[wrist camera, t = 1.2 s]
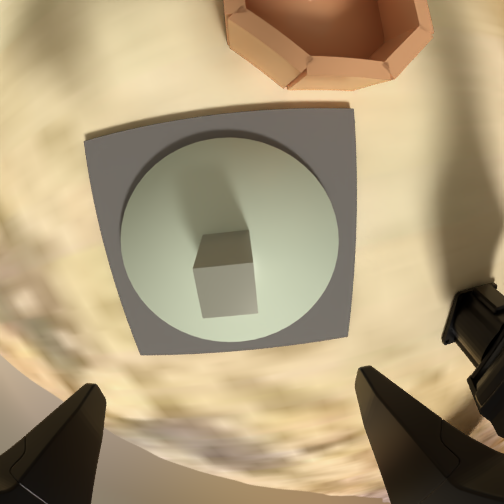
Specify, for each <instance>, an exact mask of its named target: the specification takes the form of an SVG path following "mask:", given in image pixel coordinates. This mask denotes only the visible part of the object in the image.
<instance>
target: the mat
mask: <svg viewBox="0 0 504 504" xmlns="http://www.w3.org/2000/svg"><path fill="white" fill-rule="evenodd" d="M230 137H232V138H243V139H250V140H254V141H258V142H263V143H265V144H268V145H270V146H273V147H275V148H278V149H280V150H282V151H284V152H285V153H287V154H289V155H291V156H292V157H294V158H295V159H296V160H298V161H299V162H300V163H301V164H303V165H304V166H305V167H306V168H307V169H308V170H309V171H310V172H311V173H312V174H313V175H314V176H315V177H316V179H317V180H318V181H319V183H320V184H321V186H322V187H323V188H324V190H325V192H326V194H327V196H328V198H329V200H330V201H331V204H332V207H333V210H334V213H335V216H336V221H337V226H338V236H339V246H338V256H337V260H336V265H335V269H334V271H333V274H332V277H331V279H330V282H329V283H328V285H327V287H326V289H325V291H324V292H323V294H322V295H321V297H320V298H319V299H318V301H317V302H316V303H315V304H314V305H313V307H312V308H311V309H310V310H309V311H308V312H307V313H306V314H304V315H303V316H302V317H301V318H300V319H298V320H297V321H296V322H294V323H293V324H291V325H290V326H288V327H286V328H284V329H282V330H280V331H278V332H276V333H273V334H271V335H268V336H266V337H262V338H258V339H254V340H248V341H241V342H221V341H212V340H207V339H202V338H199V337H195V336H192V335H189V334H187V333H184V332H182V331H180V330H178V329H176V328H174V327H173V326H171V325H169V324H168V323H166V322H165V321H163V320H162V319H161V318H159V317H158V316H157V315H156V314H155V313H154V312H152V311H151V310H150V309H149V308H148V307H147V305H146V304H145V303H144V302H143V301H142V300H141V298H140V297H139V295H138V294H137V292H136V291H135V289H134V288H133V286H132V284H131V282H130V280H129V278H128V275H127V272H126V269H125V266H124V263H123V258H122V252H121V226H122V221H123V216H124V212H125V209H126V207H127V204H128V201H129V199H130V197H131V195H132V193H133V191H134V190H135V188H136V186H137V185H138V183H139V182H140V181H141V179H142V178H143V177H144V176H145V174H146V173H147V172H148V171H149V170H150V169H151V168H152V167H153V166H154V165H155V164H157V163H158V162H159V161H161V160H162V159H163V158H165V157H166V156H168V155H169V154H171V153H173V152H175V151H176V150H178V149H180V148H182V147H185V146H187V145H190V144H193V143H196V142H199V141H204V140H209V139H214V138H230ZM84 146H85V153H86V160H87V166H88V172H89V178H90V184H91V189H92V194H93V199H94V204H95V209H96V213H97V218H98V222H99V226H100V231H101V235H102V239H103V243H104V246H105V250H106V254H107V258H108V261H109V265H110V268H111V272H112V275H113V278H114V282H115V285H116V288H117V291H118V294H119V297H120V300H121V303H122V306H123V309H124V312H125V315H126V318H127V321H128V323H129V326H130V329H131V332H132V334H133V337H134V340H135V342H136V345H137V347H138V350H139V352H140V355H178V354H200V353H216V352H230V351H242V350H253V349H263V348H272V347H281V346H289V345H296V344H304V343H311V342H318V341H324V340H331V339H337V338H343V337H348V330H349V322H350V312H351V302H352V291H353V278H354V264H355V245H356V215H357V167H356V138H355V120H354V109H347V108H298V109H274V110H259V111H246V112H235V113H226V114H217V115H209V116H202V117H195V118H188V119H182V120H176V121H170V122H164V123H159V124H154V125H149V126H144V127H139V128H134V129H130V130H126V131H121V132H117V133H113V134H109V135H105V136H101V137H98V138H94V139H90V140H87V141H84Z"/></svg>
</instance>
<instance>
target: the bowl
mask: <svg viewBox="0 0 504 504" xmlns="http://www.w3.org/2000/svg"><path fill="white" fill-rule="evenodd" d="M223 2H224V13H225V23H226V33H227V42H228V45H230V49H232V50H233V51H235V52H236V53H237V54H239V55H240V56H242V57H243V58H244V59H246V60H247V61H248V62H250V63H251V64H253V65H254V66H255V67H256V68H258V69H259V70H260V71H262V72H263V73H264V74H266V75H267V76H268V77H269V78H271V79H272V80H273V81H274V82H276V83H277V84H278V85H279V86H281V87H282V88H283V89H284V88H285V87H286V86H287V87H288V90H343V91H354V90H357V89H361V88H364V87H368V86H371V85H375V84H379V83H383V82H387V81H391V80H393V79H396V77H397V76H398V75H399V74H400V73H401V72H402V71H403V70H404V69H405V68H406V66H407V65H408V64H409V63H410V62H411V61H412V60H413V59H414V58H415V57H416V56H417V54H418V53H419V52H420V51H421V50H422V49H423V48H424V47H425V46H426V45H427V44H428V42H429V41H430V40H431V39H432V38H433V36H432V35H431V34H434V30H433V25H432V21H431V16H430V12H429V8H428V4H427V0H223Z"/></svg>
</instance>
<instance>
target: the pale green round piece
mask: <svg viewBox="0 0 504 504" xmlns="http://www.w3.org/2000/svg"><path fill="white" fill-rule="evenodd" d="M338 246H339V236H338V226H337V221H336V216H335V213H334V210H333V207H332V204H331V201H330V200H329V198H328V196H327V194H326V192H325V190H324V188H323V187H322V186H321V184H320V183H319V181H318V180H317V179H316V177H315V176H314V175H313V174H312V173H311V172H310V171H309V170H308V169H307V168H306V167H305V166H304V165H303V164H301V163H300V162H299V161H298V160H296V159H295V158H294V157H292V156H291V155H289V154H287V153H285V152H284V151H282V150H280V149H278V148H275V147H273V146H270V145H268V144H265V143H263V142H258V141H254V140H250V139H243V138H232V137H230V138H214V139H209V140H204V141H199V142H196V143H193V144H190V145H187V146H185V147H182V148H180V149H178V150H176V151H175V152H173V153H171V154H169V155H168V156H166V157H165V158H163V159H162V160H161V161H159V162H158V163H157V164H155V165H154V166H153V167H152V168H151V169H150V170H149V171H148V172H147V173H146V174H145V176H144V177H143V178H142V179H141V181H140V182H139V183H138V185H137V186H136V188H135V190H134V191H133V193H132V195H131V197H130V199H129V201H128V204H127V207H126V209H125V212H124V216H123V221H122V226H121V252H122V258H123V263H124V266H125V269H126V272H127V275H128V278H129V280H130V282H131V284H132V286H133V288H134V289H135V291H136V292H137V294H138V295H139V297H140V298H141V300H142V301H143V302H144V303H145V304H146V305H147V307H148V308H149V309H150V310H151V311H152V312H154V313H155V314H156V315H157V316H158V317H159V318H161V319H162V320H163V321H165V322H166V323H168V324H169V325H171V326H173V327H174V328H176V329H178V330H180V331H182V332H184V333H187V334H189V335H192V336H195V337H199V338H202V339H207V340H212V341H221V342H241V341H248V340H254V339H258V338H262V337H266V336H268V335H271V334H273V333H276V332H278V331H280V330H282V329H284V328H286V327H288V326H290V325H291V324H293V323H294V322H296V321H297V320H298V319H300V318H301V317H302V316H303V315H304V314H306V313H307V312H308V311H309V310H310V309H311V308H312V307H313V305H314V304H315V303H316V302H317V301H318V299H319V298H320V297H321V295H322V294H323V292H324V291H325V289H326V287H327V285H328V283H329V282H330V279H331V277H332V274H333V271H334V269H335V265H336V260H337V256H338Z"/></svg>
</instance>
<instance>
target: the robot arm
mask: <svg viewBox="0 0 504 504" xmlns="http://www.w3.org/2000/svg"><path fill="white" fill-rule="evenodd" d="M496 289H497V285H496V284H495V283H490V284H486V285H482V286H479V287H475V288H471V289H467V290H463V291H460V292H458V293H457V294H456V296H455V300H454V303H453V307H452V310H451V314H450V317H449V321H448V324H447V327H446V330H445V333H444V336H443V339H442V343H443V344H444V345H447V344H450V343H453V342H456V344H457V345H458V346H459V347H460V348H461V350H462V351H463V352H464V353H465V355H466V356H467V357H468V358H469V360H470V361H471V362H472V363H473V365H474V366H475V367H476V369H475V371H474V372H473V373H472V375H470V376H469V377H468V379H467V382H468V384H469V387H470V390H471V392H472V395H473V397H474V400H475V402H476V405H477V407H478V410H479V412H480V414H482V416H483V417H485V418H486V419H487V420H489V421H490V422H491V423H492V425H493V427H494V429H495V431H496V432H497V434H498V436H500V437H502V438H504V296H503V295H502V294H501V293H500V292H499V291H497V290H496ZM355 391H356V395H357V399H358V403H359V407H360V411H361V416H362V420H363V424H364V427H365V430H366V433H367V436H368V439H369V441H370V444H371V447H372V450H373V452H374V455H375V458H376V461H377V464H378V467H379V469H380V472H381V475H382V478H383V481H384V484H385V487H386V490H387V493H388V496H389V499H390V502H391V504H504V454H503V453H500V452H498V451H495V450H493V449H491V448H490V447H488V446H486V445H484V444H482V443H480V442H478V441H476V440H475V439H473V438H471V437H469V436H468V435H466V434H464V433H462V432H461V431H459V430H458V429H456V428H455V427H453V426H452V425H450V424H449V423H448V422H446V421H445V420H442V418H441V417H439V416H438V415H437V414H435V413H434V412H432V411H431V410H430V409H428V408H427V407H426V406H424V405H423V404H422V403H420V402H419V401H418V400H416V399H415V398H413V397H412V396H411V395H409V394H408V393H407V392H405V391H404V390H403V389H401V388H400V387H399V386H397V385H396V384H395V383H393V382H392V381H391V380H389V379H388V378H387V377H385V376H384V375H383V374H381V373H380V372H379V371H377V370H376V369H375V368H373V367H372V366H364V367H360V368H359V369H358V371H357V376H356V381H355ZM105 411H106V399H105V397H104V395H103V393H102V392H101V390H100V388H99V387H98V385H97V384H93V383H86V384H85V385H83V386H82V387H81V388H80V389H79V390H78V391H76V392H75V393H74V394H73V395H72V396H71V397H69V398H68V399H67V400H66V401H65V402H64V403H62V404H61V405H60V406H59V407H58V408H57V409H55V410H54V411H53V412H52V413H51V414H50V415H49V416H47V417H46V418H45V419H44V420H43V421H42V422H40V423H39V424H38V425H37V426H36V427H35V428H33V429H32V430H31V431H30V432H29V433H28V434H27V435H26V436H24V437H23V438H22V439H21V440H20V441H18V442H17V443H16V444H15V445H14V446H12V447H11V448H10V449H8V450H7V451H6V452H4V453H3V454H2V455H0V504H91V499H92V492H93V486H94V480H95V474H96V469H97V463H98V457H99V453H100V448H101V443H102V437H103V429H104V419H105Z"/></svg>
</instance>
